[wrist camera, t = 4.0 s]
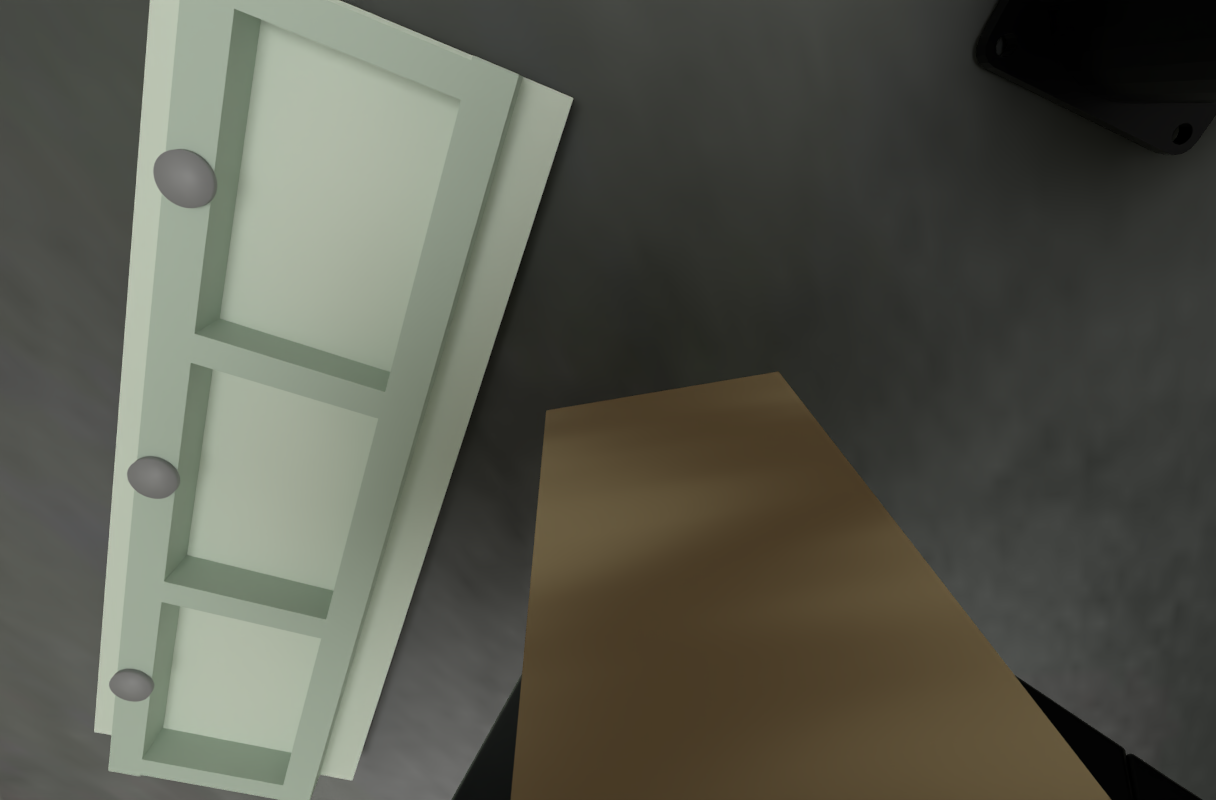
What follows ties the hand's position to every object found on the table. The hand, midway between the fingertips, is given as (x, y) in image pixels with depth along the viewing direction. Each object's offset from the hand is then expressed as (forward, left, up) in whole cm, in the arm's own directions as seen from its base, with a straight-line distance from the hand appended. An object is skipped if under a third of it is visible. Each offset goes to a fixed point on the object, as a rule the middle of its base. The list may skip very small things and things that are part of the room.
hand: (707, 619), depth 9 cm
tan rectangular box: (0, 0, -1) cm, 1 cm away
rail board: (+8, +7, -11) cm, 15 cm away
